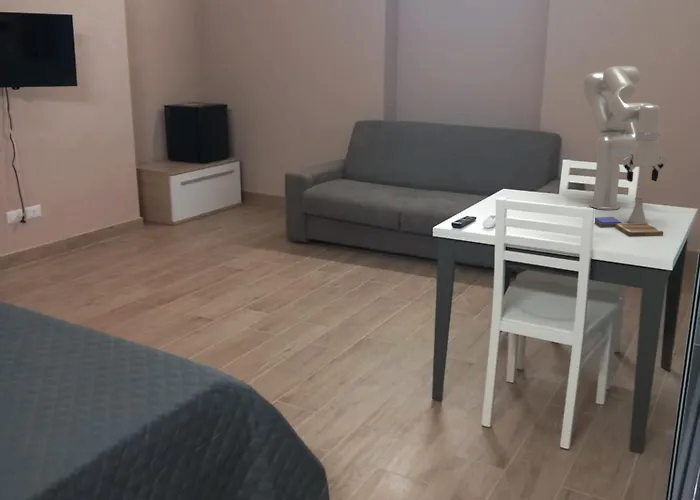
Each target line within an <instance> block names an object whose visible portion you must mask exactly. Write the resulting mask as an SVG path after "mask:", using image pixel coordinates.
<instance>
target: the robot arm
mask: <svg viewBox="0 0 700 500" xmlns="http://www.w3.org/2000/svg"><path fill="white" fill-rule="evenodd" d="M640 78H641V73H640V71H639V69H638V68H637V67H635V66H634V65H613V66H610V67H607V69H605V70H604V71H595V72H591V73H588V74H587V75H586V76H585V77H584V80H583V84H582V85H583V86H582V89H583V94H584V98H585V99H586V102H587V104H588V106H589V107H590V111H591V116H592V120H593V123H594V124H593V125H594V128H595V131H596V132H597V133H598V134H599V135H601V136H599V137H598V138H597V140H596V143H595V148H596V149H595V150H596V167H595V168H596V170H595V181H594V192H593V201H591V202H589V207H590V206H591V207H590V208H592V207H594V208H593V209H595V208H597V209H596V210H603V211H607V210H608V211H613V210H619V209H620V207H621V204H619V203H618V202H617V201H618V199H617V198H618V191H619V183H620V182H619V181H620V171H621V170H620V169H621V167H620V164H619V162H618V160H617V158H616V157H625V158H623V159H621V163H622V166H623V167H624V169H625V170H626V171H627V173H626V180H627V181H628V182H629V183H632V182H633V180H634V169H635V168H640V167H641V168H643V167H644V168H645V167H651V168H652V171H651V177H650V179H651V181H654V182H657V180H658V177H659V172H660V171H661V169H662V168H663V167H664V165H665V164H666V162H667V159H666V158H665V157H662V156H661V155H660V146H659V140H658V138H661V134H660V133H658V131H659V120H660V112H661V107H660V106H659V105H657V104H652V103H650V102H626V101H628V100H629V99H631V98H632V97H633V96H634V94H635V91H636V86H637V85H638V83H640ZM602 92H603V93H604V92H608V93H609V92H611V93H612V97H611V99H610V100H609V98H608V97H607V96H606V95H604V94H603V93H602ZM635 123H637V124H636V126H635ZM659 161H660V162H659Z"/></svg>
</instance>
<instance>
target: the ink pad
mask: <svg viewBox="0 0 700 500" xmlns="http://www.w3.org/2000/svg"><path fill="white" fill-rule="evenodd" d="M594 218H595V225H596V226H598V227H599V228H602V229H603V228H615V224H623V222H622V221H621V220H619V219H618V218H616V217H614V216H601V217H600V216H598V217H594Z"/></svg>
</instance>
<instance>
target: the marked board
mask: <svg viewBox="0 0 700 500" xmlns="http://www.w3.org/2000/svg"><path fill="white" fill-rule="evenodd" d="M622 223H623V222H622ZM614 228H615V229H616V230H618V231H619V232H621V233H622V234H624V235H625V236H627V237H628V238H629V237H632V238H633V237H658V236H659V237H660V236H661V237H663V236H664V231H662V230H661V229H660V228H658V227H655V226H654V225H653V224H650V223H648V222H646V223H628V222H627V223H623V224H615V227H614Z"/></svg>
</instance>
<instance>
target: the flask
mask: <svg viewBox="0 0 700 500" xmlns="http://www.w3.org/2000/svg"><path fill="white" fill-rule="evenodd" d="M644 199H645V198H641V197H635V204H634V208H633V210H632V212H631V214H630V216H629V218H628V220H627V223H647V219H646V215H645V212H644V208H643V207H644V206H643V202H644Z"/></svg>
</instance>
